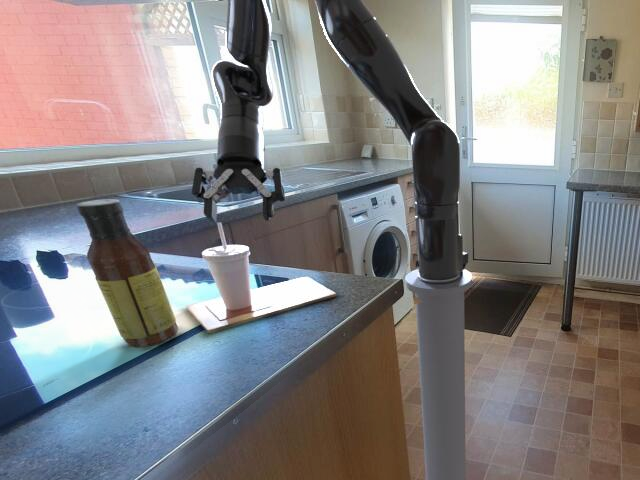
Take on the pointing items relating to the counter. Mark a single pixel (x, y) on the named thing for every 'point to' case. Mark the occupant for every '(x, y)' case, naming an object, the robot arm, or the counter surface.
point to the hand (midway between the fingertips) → (239, 219)
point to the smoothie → (230, 272)
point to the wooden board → (260, 304)
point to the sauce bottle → (127, 276)
